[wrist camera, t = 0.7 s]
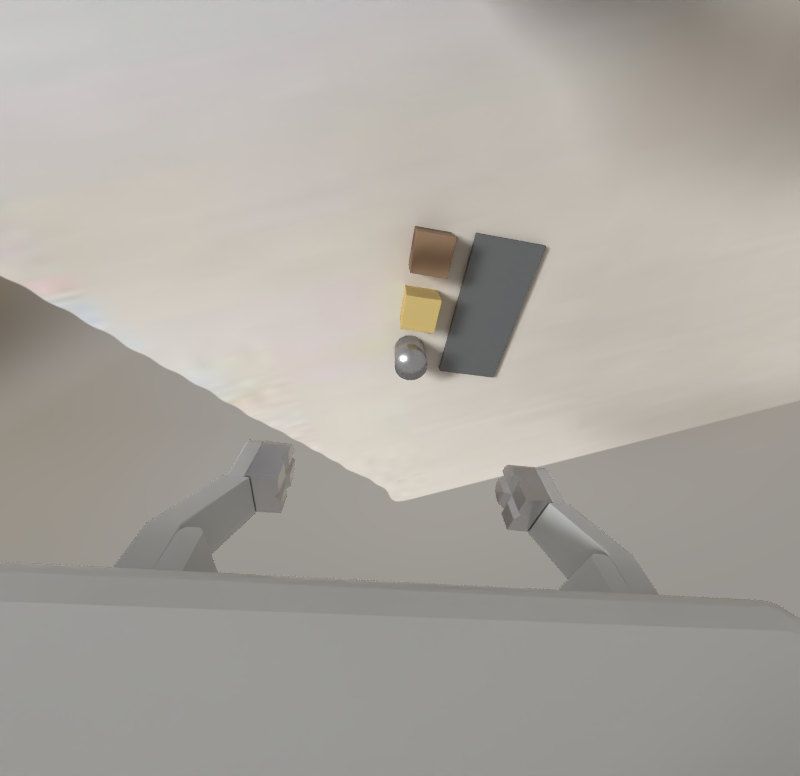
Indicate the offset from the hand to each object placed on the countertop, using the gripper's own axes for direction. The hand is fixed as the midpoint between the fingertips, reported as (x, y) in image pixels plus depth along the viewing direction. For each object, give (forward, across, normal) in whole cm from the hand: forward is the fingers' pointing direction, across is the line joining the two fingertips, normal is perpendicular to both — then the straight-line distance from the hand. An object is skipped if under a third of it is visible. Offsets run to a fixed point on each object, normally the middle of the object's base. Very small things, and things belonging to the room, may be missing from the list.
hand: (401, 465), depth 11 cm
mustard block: (+38, -4, +5) cm, 39 cm away
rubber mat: (+38, -16, +5) cm, 41 cm away
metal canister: (+38, -5, +13) cm, 40 cm away
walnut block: (+38, -4, -3) cm, 38 cm away
